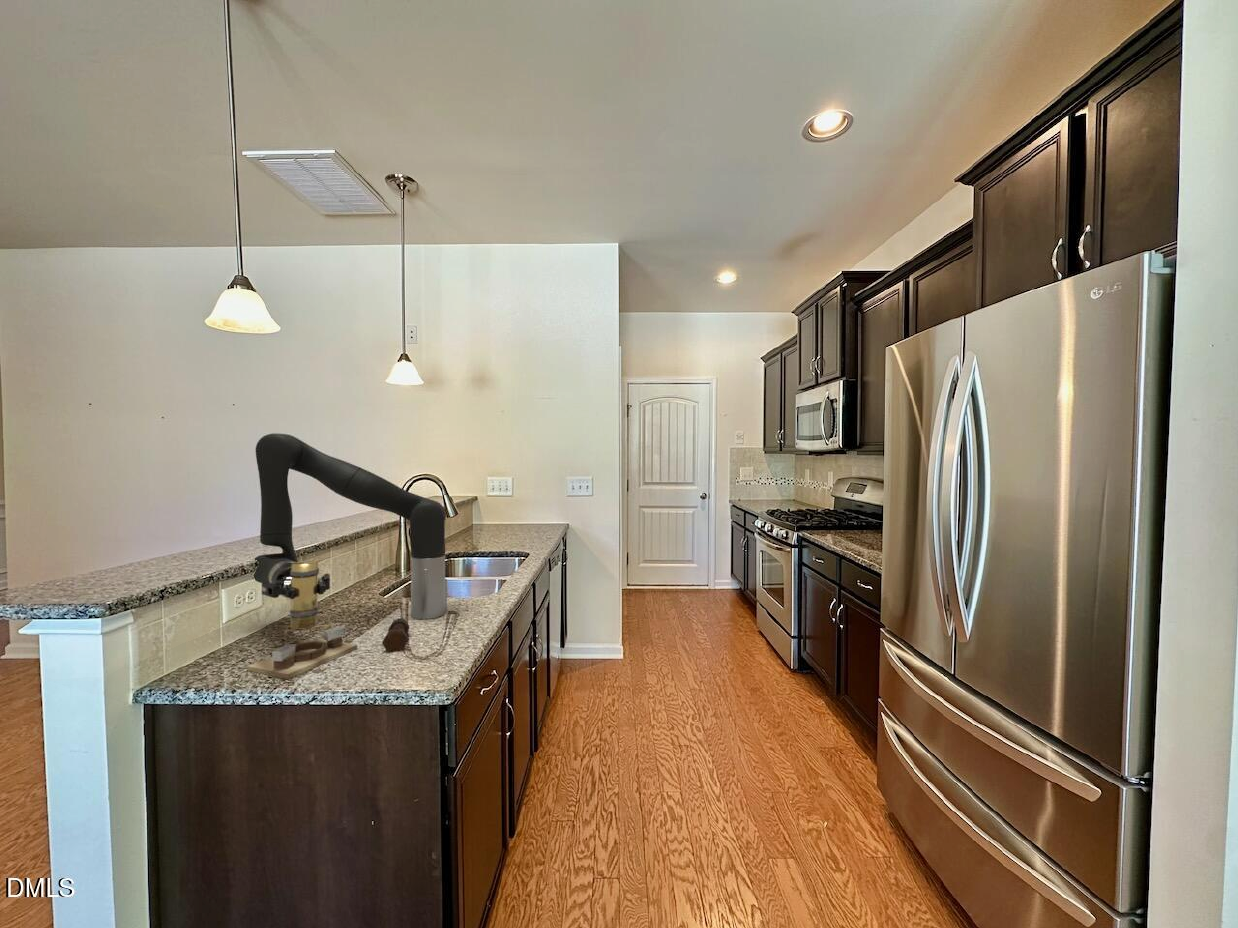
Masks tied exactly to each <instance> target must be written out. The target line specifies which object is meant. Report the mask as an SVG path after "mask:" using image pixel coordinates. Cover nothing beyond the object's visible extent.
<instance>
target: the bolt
mask: <svg viewBox="0 0 1238 928" xmlns="http://www.w3.org/2000/svg"><path fill="white" fill-rule="evenodd" d="M409 630H410V625H409V623H408V622H407V620H406V619H405V618H397V619H394V620H393V621H392V622H391V624H390V626H389V627H388V630H387V633H386V635H385V637H383V640H382V642H381V644H382V646H383V647H384V649H385V651H387V653H396V652H397V653H398V652H402V651H404V650H405V647H406V646H407V644H408V642H409V640H410V638H409V636H408V634H407V633H408V631H409Z"/></svg>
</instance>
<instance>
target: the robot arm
mask: <svg viewBox="0 0 1238 928" xmlns="http://www.w3.org/2000/svg"><path fill="white" fill-rule="evenodd" d="M255 457H256V465H257V470H258V476H259V477H258V478H259V486H260V502H261V503H260V504H261V507H260V513H261V514H260V530H259V531H260V532H259V533H260V535H259V538H260V539H259V540H260V543H261V544H262V545H264V546H266V547H267V546H271V547H278V548H281V550H282V552H280V553H279V552H278V553H270V554H269V553H268V554H267V553H265V554H261V555H258V556H255V558H254V559H255V560H257V561H259V566H258V568H257V570H256V572H255V574H254V578H255V580H254V581H255V582H258V583H260V584H261V595H263V596H267V597H270V598H271V599H277V598H279V596H282V597H283V598H287V599H290V600H291V599H295V589H294V588H293V587H291V578H292V577H291V576H290V573H291V570H292V564H293V563H296V562H299V560H298V557H297V554H296V551H295V547H294V546H295V545H294V543H293V542H294V541H293V522H294V521H293V518H294V517H293V508H292V507H293V506H292V504H291V498H290V495H289V487H288V486H289V485H288V483H289V481H288V478H289V472H290V470H292V471H295V472H298V473H301V474H304V475H306V476H309V477H312V478H313V479H315V480H316V481H318V482H320V483H321V484H322V485H324V487H326V488H328V489H329V490H331V491H332V492H334V493H336V494H337V495H339V496H340V497H343V498H345V499H348V500H350V501H352V502H354V503H357V504H360V505H363V506H366V507H369V508H372V509H373V508H374V509H376V510H381V511H386V512H389V513H393V514H395V515H397V516H399V517H401V518H403V519H405V520H407V521H409V541H410V542H409V544H410V551H411V553H410V555H411V558H410V560H411V563H410V564H411V566H410V569H411V571H410V572H411V573H410V575H411V576H410V578H411V579H410V582H411V583H410V586H411V587H410V602H411V603H410V616H411V618H413V619H415V620H428V619H429V620H430V619H436V618H439V617H441V616H443V615H445V613H446V612H447V611H448V579H446V541H445V530H446V529H445V525H446V524H445V523H446V522H445V521H446V518H447V513H446V508H445V507H444V505H442V504H441V503H440V502H438V501H437V500H434V499H430V498H427V497H424V496H421V495H419V494H416V493H413V492H409V491H407V490H405V489H403V488H401V487H400V486H398V485H396V484H394V483H392V481H388V480H387V479H385V478H383V477H381V476H380V475H378V474H375V473H373V472H371V471H369V470H367V469H364V468H362V467H360V466H357V465H355V464H353V463H351V462H347V461H345V460H343V459H342V460H341V459H340V458H337V457H334V456H331V455H328V454H326V453H324V452H322V451H320V450H318V449H317V448H315V447H313V446H311V445H309V444H307V443H306V442H304V441H303V440H301V439H299V438H298V437H296V436H293V435H291V434H287V433H274V432H273V433H268V434H266V435H265V434H264V435H263V436H262V437H260V438H259V440H258V441H257V442H256V446H255ZM330 577H331V576H330V573H325V574H323V575H321V577H318V595H324V593H325V592H326V591H327V590H328V591H329V590H330V589H331V588H330V587H331V585H330V583H331V578H330ZM326 593H327V592H326Z"/></svg>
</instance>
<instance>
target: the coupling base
mask: <svg viewBox="0 0 1238 928" xmlns="http://www.w3.org/2000/svg"><path fill="white" fill-rule="evenodd" d="M357 649H358V644H355V643H351V642H343V637H340V638H336V639H333V640H330V641H326V640H324V638H322V637H321V638H317V639H314V640H312V641H307V642H300V643H296V644H295V654H294V655H292V656H290V657H288V658H287V659H285V660H283V661H272V656H270V657H268V658H267V657H266V658H264V659H262V660H258V661H257V662H254V663H251V664H248V665H247V666H246V667H247V669H246V671H247V670H248V672H254V673H256V674H257V673H258V674H261V675H267V676H271V677H276V678H280V679H284V678H285V680H289V679H292V678H294V677H297V676H299V675H301V674H303V673H305V672H308V671H310V670H312V669H315V668H317V667H319V666H321V665H324V664H326V663H328V662H330V661H332V660H335V659H337V658H340V657H342V656H344V655H346V654H349V653H351V652H354V651H356V650H357Z"/></svg>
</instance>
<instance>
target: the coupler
mask: <svg viewBox="0 0 1238 928" xmlns="http://www.w3.org/2000/svg"><path fill="white" fill-rule="evenodd" d="M319 574H320V567H319V561H317V560H316V561H315V560H304V561H303V560H301V561H298V562H296V563H293V564H292V570H291V573H290V576H291V577H292V578H291V587H293V588H294V589H295V599H290V605H291V606H290V610H289V617H290V628H291V629H295V630H300V629H308V628H311V627H314V626H316V625H317V624H318V614H319V605H318V602H319V601H318V599H319V598H318V595H319V594H318V578H319Z"/></svg>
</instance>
